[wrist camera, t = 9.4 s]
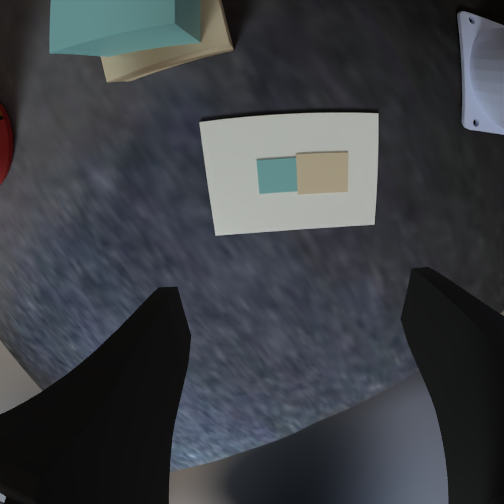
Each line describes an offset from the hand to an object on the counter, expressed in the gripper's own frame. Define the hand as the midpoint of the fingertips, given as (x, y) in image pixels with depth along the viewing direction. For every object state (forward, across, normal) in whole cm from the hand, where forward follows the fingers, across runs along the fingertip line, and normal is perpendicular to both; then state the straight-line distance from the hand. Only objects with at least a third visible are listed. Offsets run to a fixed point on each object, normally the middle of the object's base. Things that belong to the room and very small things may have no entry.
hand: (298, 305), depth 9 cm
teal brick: (+7, +5, -11) cm, 14 cm away
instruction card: (+10, -1, -1) cm, 10 cm away
